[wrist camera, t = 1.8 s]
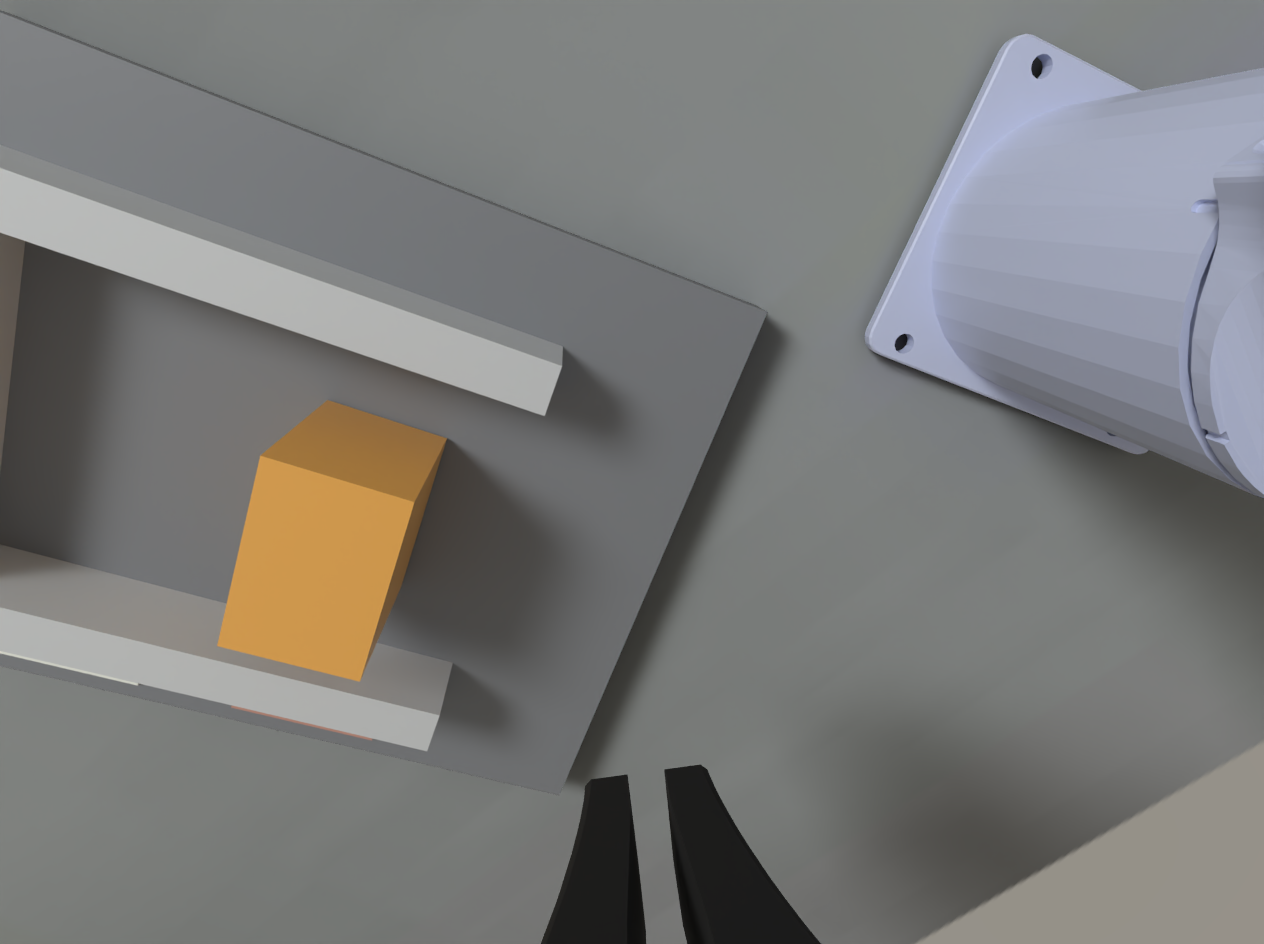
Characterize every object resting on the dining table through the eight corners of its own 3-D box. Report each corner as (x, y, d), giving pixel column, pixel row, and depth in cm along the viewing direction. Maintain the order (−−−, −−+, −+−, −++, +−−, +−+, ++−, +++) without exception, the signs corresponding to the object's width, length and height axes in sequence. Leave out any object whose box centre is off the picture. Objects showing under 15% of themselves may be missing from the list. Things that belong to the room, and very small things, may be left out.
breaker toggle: (447, 438, 19) (414, 502, 15) (401, 586, 20) (359, 681, 16) (327, 400, 18) (259, 455, 14) (288, 555, 19) (217, 646, 15)
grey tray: (755, 305, 19) (794, 327, 16) (559, 767, 24) (558, 856, 21) (9, 13, 16) (-137, -36, 13) (-47, 622, 21) (-163, 702, 17)
